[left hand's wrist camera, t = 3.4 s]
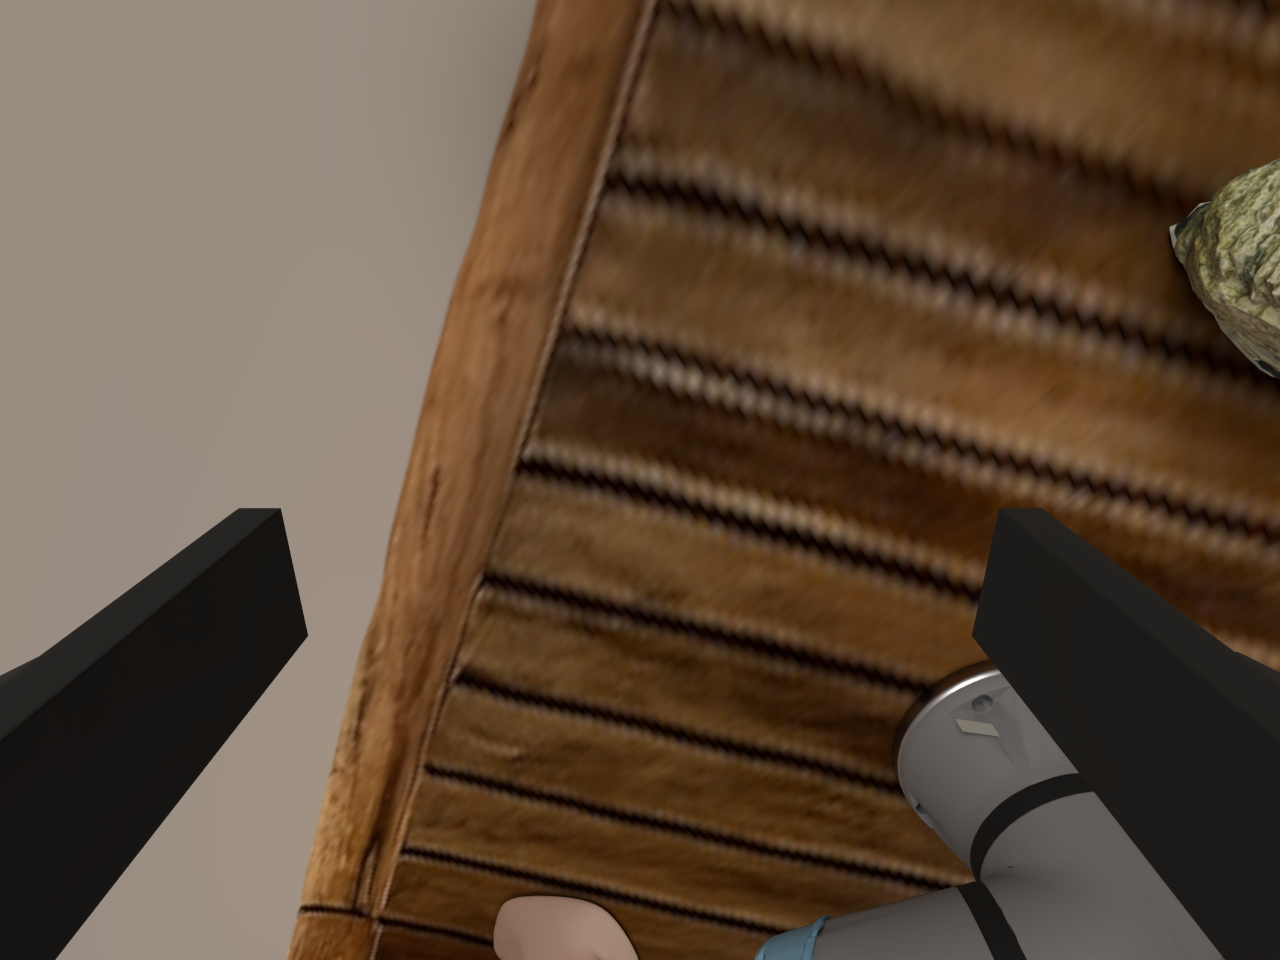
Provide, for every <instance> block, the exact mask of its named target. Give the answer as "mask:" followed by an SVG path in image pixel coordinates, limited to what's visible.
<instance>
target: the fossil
mask: <svg viewBox="0 0 1280 960" xmlns="http://www.w3.org/2000/svg"><path fill="white" fill-rule="evenodd" d="M1170 234H1171V239H1172V244H1173V248H1174V251H1175V254H1176V257H1177V258H1178V260H1179V261H1180V262H1181V263H1182V264H1183V266H1184V268H1185V270H1186V272H1187V275H1188V277H1189V280H1190V283H1191V286H1192V289H1193V291H1194V292H1195V293H1196V295H1197V297H1198V298H1199V299H1200V300H1201V301H1202V302H1203V304H1204V305H1205V307H1206V308H1207V309H1208V310H1209V311H1210V312H1211V313H1212V314H1213V315H1214V317H1215V319H1216V321H1217V322H1218V324H1219V326H1220V328H1221V330H1222V331H1223V332H1224V333H1225V334H1226V336H1227V337H1228V338H1229V339H1230V340H1231V341H1232V342H1233V343H1234V344H1235V345H1236V347H1237V348H1238V349H1239V350H1240V351H1241V352H1242V353H1243V354H1244V355H1245V356H1246V357H1247V358H1248V359H1249V360H1250V361H1251V362H1252V363H1254V364H1255V365H1256V366H1257V367H1258V368H1259V369H1260V370H1262V371H1263V372H1265V373H1267V374H1268V375H1270V376H1272V377H1275V378H1277V379H1280V158H1279V159H1276V160H1274V161H1271V162H1269V163H1267V164H1265V165H1263V166H1261V167H1258V168H1253V169H1250V170H1248V171H1246V172H1245V173H1243V174H1241V175H1240V176H1238V177H1236V178H1234V179H1233V180H1231V181H1229V182H1227V183H1226V184H1225V185H1224V186H1223V187H1221V188H1220V189H1219V190H1218V191H1217V192H1216V193H1215V194H1214V195H1213V197H1212V199H1211V202H1206V203H1201V204H1199V205H1198V206H1197V207H1196V208H1195V209H1194V210H1193V211H1192V212H1191V213H1190V214H1189V216H1188V217H1187V218H1186V219H1185V220H1184V222H1181V223H1178V224H1176V225H1173V226H1170Z"/></svg>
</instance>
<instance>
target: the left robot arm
mask: <svg viewBox="0 0 1280 960" xmlns="http://www.w3.org/2000/svg"><path fill="white" fill-rule="evenodd" d="M307 636H308V633H307V628H306V624H305V619H304V614H303V610H302V605H301V600H300V596H299V591H298V587H297V582H296V577H295V573H294V568H293V563H292V559H291V554H290V549H289V545H288V540H287V535H286V531H285V526H284V521H283V517H282V512H281V508H239V509H237V510H236V511H235V512H233V513H232V514H231V515H229V516H228V517H226V518H225V519H224V520H222V521H221V522H220V523H218V524H217V525H216V526H214V527H213V528H212V529H210V530H209V531H208V532H206V533H205V534H204V535H202V536H201V537H200V538H198V539H197V540H195V541H194V542H193V543H191V544H190V545H189V546H187V547H186V548H185V549H183V550H182V551H181V552H179V553H178V554H177V555H175V556H174V557H173V558H171V559H170V560H169V561H167V562H166V563H164V564H163V565H162V566H160V567H159V568H158V569H156V570H155V571H154V572H152V573H151V574H150V575H148V576H147V577H146V578H144V579H143V580H142V581H140V582H139V583H138V584H136V585H135V586H134V587H132V588H131V589H130V590H128V591H127V592H125V593H124V594H123V595H121V596H120V597H119V598H117V599H116V600H115V601H113V602H112V603H111V604H109V605H108V606H107V607H105V608H104V609H103V610H101V611H100V612H99V613H97V614H96V615H95V616H93V617H92V618H90V619H89V620H88V621H86V622H85V623H84V624H82V625H81V626H80V627H78V628H77V629H76V630H74V631H73V632H72V633H70V634H69V635H68V636H66V637H65V638H63V639H62V640H61V641H59V642H58V643H57V644H55V645H54V646H53V647H51V648H50V649H49V650H47V651H46V652H45V653H43V654H42V655H41V656H39V657H37V658H35V659H33V660H31V661H29V662H27V663H25V664H23V665H21V666H19V667H17V668H15V669H13V670H11V671H9V672H7V673H5V674H3V675H1V676H0V960H55V959H56V958H57V957H58V955H59V954H60V953H61V952H62V950H63V949H64V948H65V947H66V945H67V944H68V943H69V941H70V940H71V939H72V938H73V936H74V935H75V934H76V932H77V931H78V930H79V929H80V927H81V926H82V925H83V923H84V922H85V921H86V920H87V918H88V917H89V916H90V915H91V913H92V912H93V911H94V909H95V908H96V907H97V906H98V904H99V903H100V902H101V900H102V899H103V898H104V897H105V895H106V894H107V893H108V891H109V890H110V889H111V888H112V886H113V885H114V884H115V882H116V881H117V880H118V879H119V877H120V876H121V875H122V874H123V872H124V871H125V870H126V868H127V867H128V866H129V865H130V863H131V862H132V861H133V859H134V858H135V857H136V856H137V854H138V853H139V852H140V850H141V849H142V848H143V847H144V845H145V844H146V843H147V841H148V840H149V839H150V838H151V836H152V835H153V834H154V832H155V831H156V830H157V829H158V827H159V826H160V825H161V824H162V822H163V821H164V820H165V818H166V817H167V816H168V815H169V813H170V812H171V811H172V809H173V808H174V807H175V805H176V804H177V803H178V802H179V800H180V799H181V798H182V797H183V795H184V794H185V793H186V791H187V790H188V789H189V788H190V786H191V785H192V784H193V783H194V781H195V780H196V779H197V777H198V776H199V775H200V774H201V772H202V771H203V770H204V768H205V767H206V766H207V765H208V763H209V762H210V761H211V759H212V758H213V757H214V756H215V754H216V753H217V752H218V751H219V749H220V748H221V747H222V745H223V744H224V743H225V742H226V740H227V739H228V738H229V736H230V735H231V734H232V733H233V731H234V730H235V729H236V727H237V726H238V725H239V724H240V722H241V721H242V720H243V718H244V717H245V716H246V715H247V713H248V712H249V711H250V710H251V708H252V707H253V706H254V704H255V703H256V702H257V701H258V699H259V698H260V697H261V695H262V694H263V693H264V692H265V690H266V689H267V688H268V686H269V685H270V684H271V683H272V681H273V680H274V679H275V677H276V676H277V675H278V674H279V672H280V671H281V670H282V669H283V667H284V666H285V665H286V663H287V662H288V661H289V660H290V658H291V657H292V656H293V654H294V653H295V652H296V650H297V649H298V648H299V647H300V645H301V644H302V643H303V642H304V640H305V639H306V638H307ZM972 636H973V638H974V639H975V640H976V642H977V643H978V644H979V645H980V647H981V648H982V649H983V651H984V652H985V653H986V654H987V656H988V657H989V658H990V660H986V661H982V662H979V663H976V664H972V665H970V666H967V667H965V668H962V669H960V670H958V671H956V672H954V673H952V674H950V675H948V676H946V677H945V678H943V679H941V680H940V681H938V682H937V683H935V684H934V685H933V686H931V687H930V688H929V689H928V690H926V691H925V692H924V693H923V694H922V695H921V696H920V697H919V698H918V699H917V700H916V701H915V702H914V703H913V705H912V706H911V707H910V708H909V710H908V711H907V712H906V714H905V715H904V717H903V719H902V721H901V722H900V724H899V727H898V729H897V731H896V735H895V738H894V742H893V749H892V761H893V767H894V772H895V774H896V777H897V780H898V782H899V784H900V786H901V789H902V791H903V793H904V795H905V797H906V799H907V801H908V802H909V804H910V805H911V807H912V808H913V809H914V811H915V812H916V813H917V815H918V816H919V817H920V818H921V819H922V820H923V821H924V822H925V823H926V824H927V825H928V826H929V827H930V828H932V829H933V830H934V831H935V833H936V834H937V835H938V836H939V838H940V839H941V840H942V841H943V842H944V843H945V844H946V845H947V846H948V847H949V848H950V849H951V850H952V851H953V852H954V853H955V854H956V855H957V856H958V857H959V859H960V860H961V861H962V862H963V863H964V864H965V865H966V866H967V867H968V868H969V869H970V870H971V872H972V874H973V876H974V878H975V879H976V881H975V882H971V883H967V884H963V885H959V886H956V887H955V886H954V887H950V888H946V889H942V890H938V891H935V892H931V893H927V894H923V895H919V896H915V897H912V898H908V899H904V900H900V901H896V902H892V903H889V904H885V905H881V906H877V907H873V908H869V909H866V910H862V911H858V912H854V913H850V914H846V915H842V916H838V917H833V918H831V916H823V917H820V918H818V919H817V920H816V922H815V923H812V924H809V925H806V926H803V927H800V928H797V929H794V930H791V931H788V932H785V933H783V934H779V935H776V936H774V937H772V938H770V939H769V940H767V941H766V942H765V943H764V944H763V945H762V947H761V948H760V949H759V951H758V953H757V955H756V957H755V959H754V960H1280V673H1279V672H1277V671H1275V670H1273V669H1271V668H1269V667H1267V666H1265V665H1263V664H1261V663H1259V662H1257V661H1255V660H1253V659H1251V658H1249V657H1247V656H1245V655H1243V654H1241V653H1239V652H1234V651H1233V650H1231V649H1230V648H1229V647H1227V646H1226V645H1225V644H1223V643H1222V642H1221V641H1219V640H1218V639H1217V638H1215V637H1214V636H1212V635H1211V634H1210V633H1208V632H1207V631H1206V630H1204V629H1203V628H1202V627H1200V626H1199V625H1198V624H1196V623H1195V622H1194V621H1192V620H1191V619H1190V618H1188V617H1187V616H1186V615H1184V614H1183V613H1182V612H1180V611H1179V610H1177V609H1176V608H1175V607H1173V606H1172V605H1171V604H1169V603H1168V602H1167V601H1165V600H1164V599H1163V598H1161V597H1160V596H1159V595H1157V594H1156V593H1155V592H1153V591H1152V590H1151V589H1149V588H1148V587H1146V586H1145V585H1144V584H1142V583H1141V582H1140V581H1138V580H1137V579H1136V578H1134V577H1133V576H1132V575H1130V574H1129V573H1128V572H1126V571H1125V570H1124V569H1122V568H1121V567H1120V566H1118V565H1117V564H1115V563H1114V562H1113V561H1111V560H1110V559H1109V558H1107V557H1106V556H1105V555H1103V554H1102V553H1101V552H1099V551H1098V550H1097V549H1095V548H1094V547H1093V546H1091V545H1090V544H1089V543H1087V542H1086V541H1085V540H1083V539H1082V538H1080V537H1079V536H1078V535H1076V534H1075V533H1074V532H1072V531H1071V530H1070V529H1068V528H1067V527H1066V526H1064V525H1063V524H1062V523H1060V522H1059V521H1058V520H1056V519H1055V518H1054V517H1052V516H1051V515H1049V514H1048V513H1047V512H1045V511H1044V510H1043V509H1041V508H999V512H998V517H997V521H996V526H995V531H994V535H993V540H992V545H991V549H990V554H989V559H988V563H987V568H986V573H985V577H984V582H983V587H982V591H981V596H980V600H979V605H978V610H977V614H976V619H975V624H974V628H973V633H972Z"/></svg>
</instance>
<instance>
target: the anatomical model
mask: <svg viewBox="0 0 1280 960" xmlns="http://www.w3.org/2000/svg"><path fill="white" fill-rule="evenodd" d="M494 949H495V952H496V954H497V955H498V957H499V958H500V959H501V960H638V957H637V955H636V952H635V950H634V948H633V946H632V944H631V943H630V941H629V939H628V938H627V936H626V934H625V933H624V931H623V930H622V928H621V927H620V926H619V924H618V923H617V922H616V921H615V919H614V918H613V917H612V916H611V915H610V914H609V913H608V912H606V911H605V910H604V909H603V908H601V907H599V906H597V905H596V904H593V903H591V902H588V901H584V900H580V899H575V898H568V897H559V896H524V897H517V898H513V899H511V900H508V901H507V902H506V903H504V904H503V906H502V907H501V909H500V911H499V914H498V917H497V921H496V925H495V929H494Z"/></svg>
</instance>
